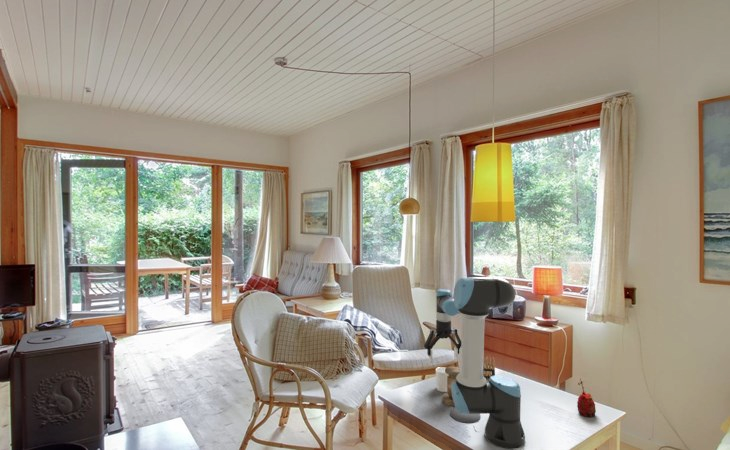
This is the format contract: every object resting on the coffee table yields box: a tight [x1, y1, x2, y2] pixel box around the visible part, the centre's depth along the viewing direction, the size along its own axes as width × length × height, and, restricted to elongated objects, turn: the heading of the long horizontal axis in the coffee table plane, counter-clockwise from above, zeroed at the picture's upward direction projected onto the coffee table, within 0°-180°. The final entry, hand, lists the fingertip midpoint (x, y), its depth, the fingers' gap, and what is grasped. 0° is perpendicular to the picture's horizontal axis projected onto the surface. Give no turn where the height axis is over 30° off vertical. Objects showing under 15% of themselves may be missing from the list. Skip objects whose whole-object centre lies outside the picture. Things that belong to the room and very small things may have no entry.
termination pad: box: [449, 407, 481, 424], centre depth 169 cm, size 13×13×1 cm
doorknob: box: [442, 365, 461, 407], centre depth 181 cm, size 10×10×15 cm
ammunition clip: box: [483, 355, 496, 380], centre depth 209 cm, size 11×2×12 cm, turn 78°
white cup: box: [435, 366, 449, 393], centre depth 194 cm, size 8×8×10 cm
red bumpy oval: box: [576, 378, 597, 418], centre depth 170 cm, size 8×7×15 cm
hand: (443, 361), depth 194 cm, fingers open, 13 cm apart
